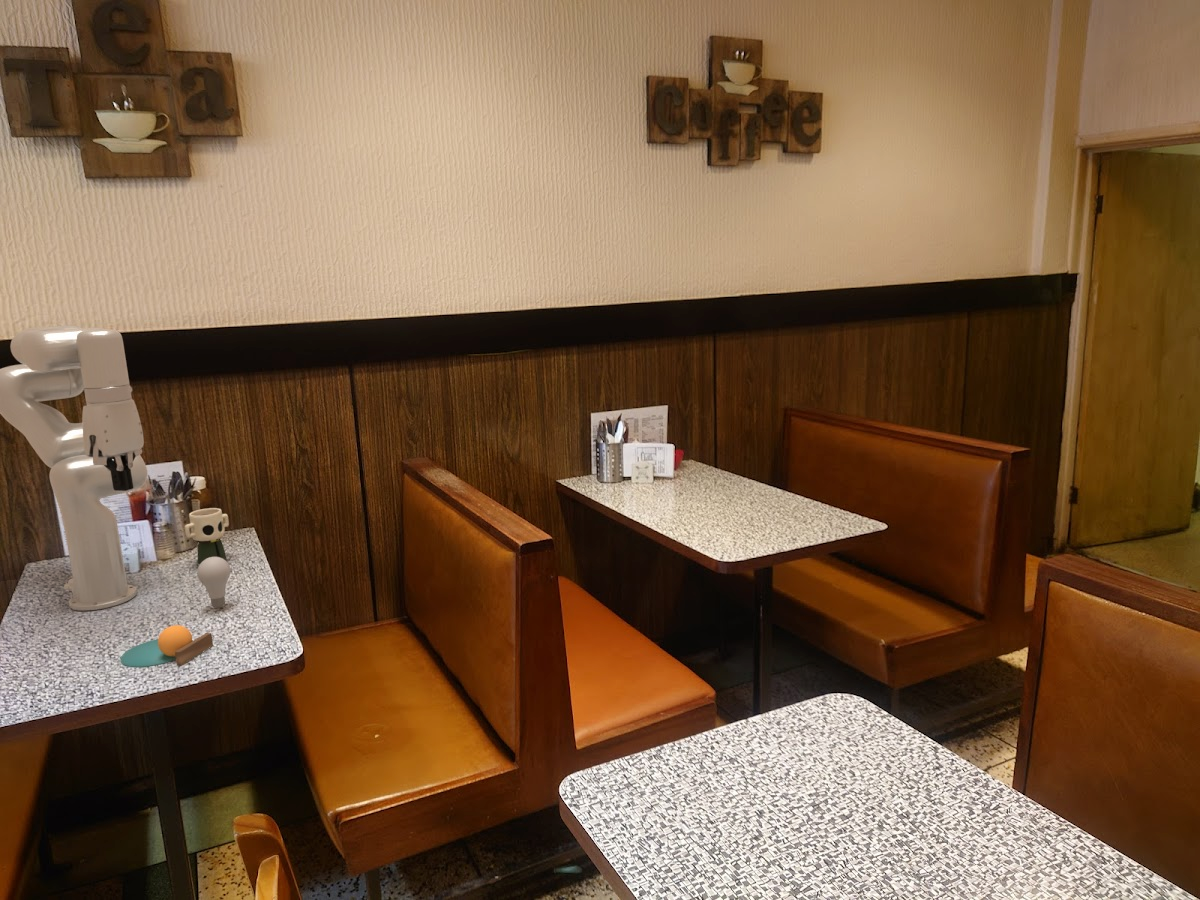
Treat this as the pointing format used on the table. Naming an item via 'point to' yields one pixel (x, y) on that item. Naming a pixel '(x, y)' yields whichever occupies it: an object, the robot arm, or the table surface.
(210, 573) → the lightbulb
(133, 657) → the disc
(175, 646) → the ball
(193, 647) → the stopper strip
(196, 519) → the character mug
